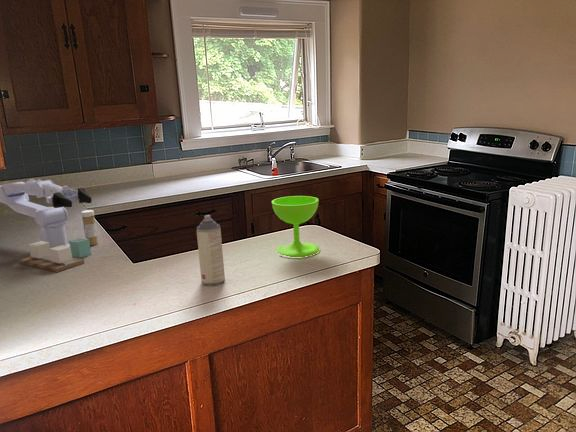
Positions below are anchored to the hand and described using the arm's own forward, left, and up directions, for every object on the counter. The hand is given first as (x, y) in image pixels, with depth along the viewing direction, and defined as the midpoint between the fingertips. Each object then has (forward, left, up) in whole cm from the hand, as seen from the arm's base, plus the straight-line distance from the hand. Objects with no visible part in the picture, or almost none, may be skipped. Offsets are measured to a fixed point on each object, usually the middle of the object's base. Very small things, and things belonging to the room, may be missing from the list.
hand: (80, 202), depth 165 cm
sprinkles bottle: (-11, +9, -20) cm, 25 cm away
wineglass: (+68, +34, -20) cm, 79 cm away
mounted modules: (-4, -12, -18) cm, 22 cm away
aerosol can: (+60, -1, -20) cm, 63 cm away
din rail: (-4, -12, -18) cm, 22 cm away
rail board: (-4, -12, -20) cm, 23 cm away
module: (-2, -2, -20) cm, 20 cm away
